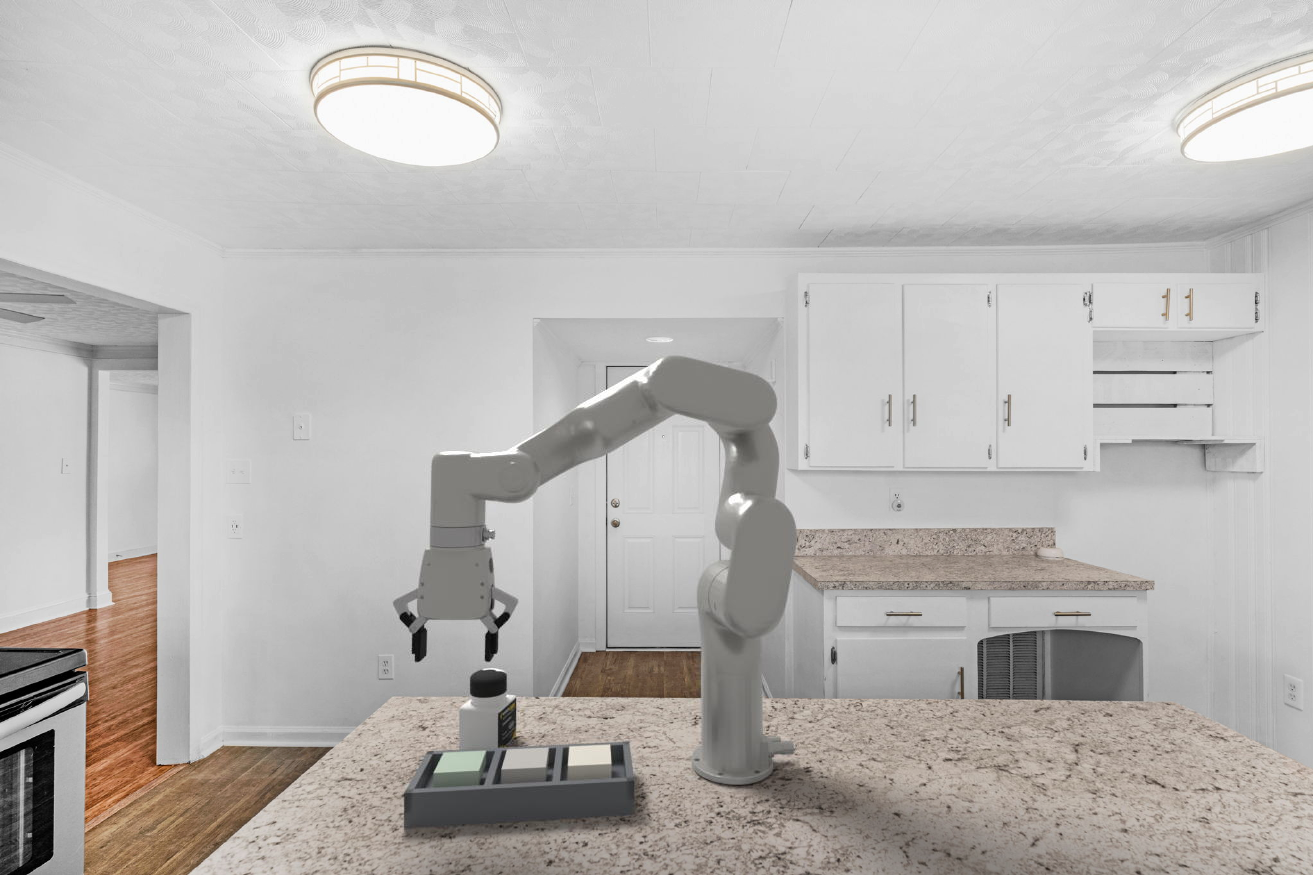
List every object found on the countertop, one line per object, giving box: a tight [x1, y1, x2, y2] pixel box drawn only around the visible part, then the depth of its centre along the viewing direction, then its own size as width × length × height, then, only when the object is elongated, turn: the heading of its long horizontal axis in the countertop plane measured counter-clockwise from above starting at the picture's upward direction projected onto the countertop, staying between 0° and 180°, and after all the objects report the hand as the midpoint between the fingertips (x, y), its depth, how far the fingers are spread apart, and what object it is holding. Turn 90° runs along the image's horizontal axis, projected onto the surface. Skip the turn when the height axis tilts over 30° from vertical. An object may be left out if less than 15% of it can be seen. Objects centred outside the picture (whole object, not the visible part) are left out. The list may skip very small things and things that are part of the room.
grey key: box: [501, 748, 549, 784], centre depth 91 cm, size 6×6×2 cm
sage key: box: [433, 751, 486, 788], centre depth 90 cm, size 6×6×2 cm
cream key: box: [568, 745, 611, 781], centre depth 92 cm, size 6×6×2 cm
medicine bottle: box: [458, 667, 517, 750], centre depth 108 cm, size 7×7×12 cm
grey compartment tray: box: [403, 741, 636, 829], centre depth 91 cm, size 30×12×4 cm, turn 96°
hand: (455, 659), depth 91 cm, fingers open, 9 cm apart
